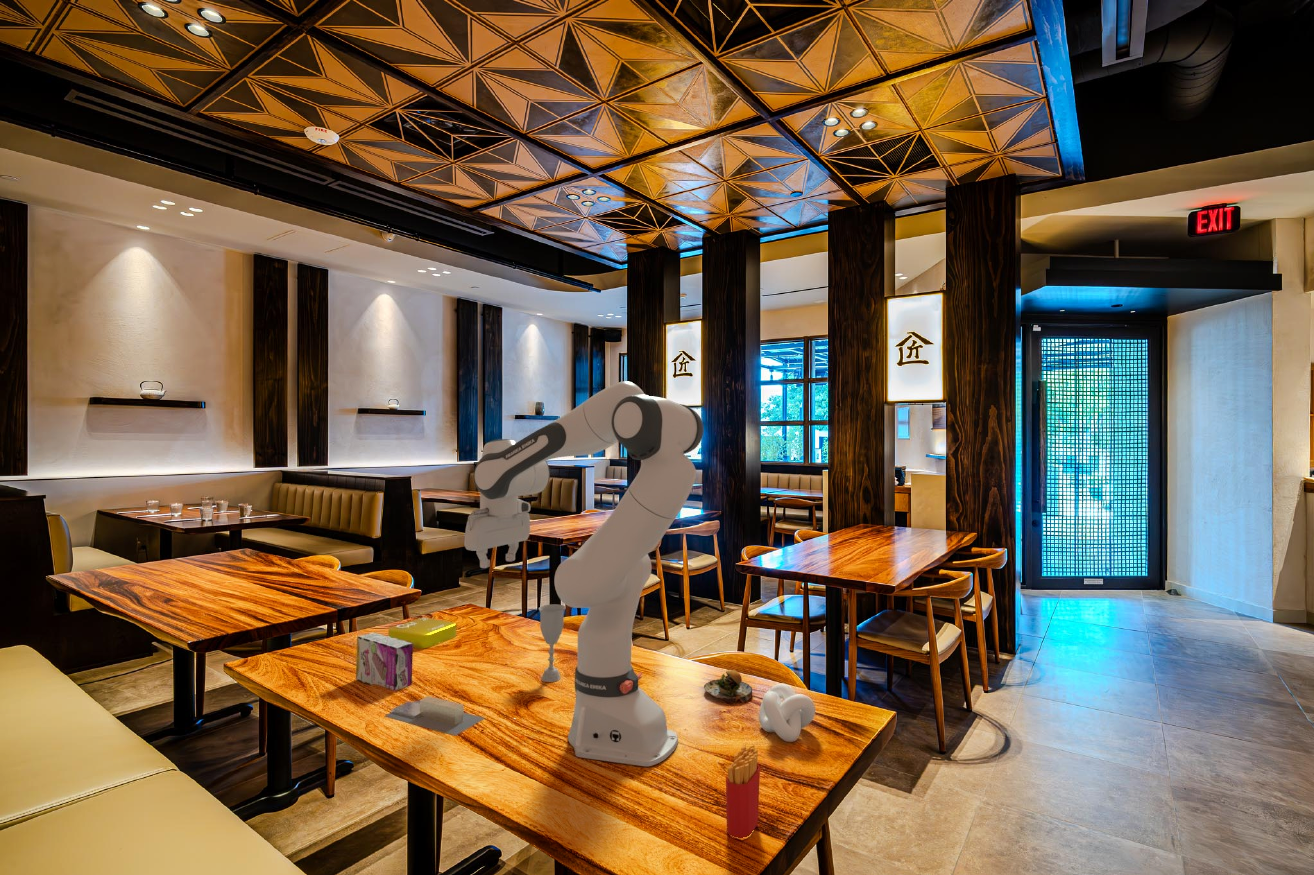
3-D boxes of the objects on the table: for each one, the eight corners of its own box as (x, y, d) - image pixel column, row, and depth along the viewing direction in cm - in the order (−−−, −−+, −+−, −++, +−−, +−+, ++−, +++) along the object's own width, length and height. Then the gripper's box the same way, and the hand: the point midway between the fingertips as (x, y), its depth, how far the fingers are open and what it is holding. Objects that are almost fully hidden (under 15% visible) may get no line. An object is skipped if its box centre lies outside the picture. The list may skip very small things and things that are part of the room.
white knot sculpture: (803, 753, 122) (804, 707, 122) (746, 738, 128) (746, 695, 128) (818, 730, 132) (819, 688, 132) (764, 718, 138) (765, 677, 138)
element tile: (422, 650, 180) (423, 634, 180) (385, 643, 186) (385, 627, 186) (459, 636, 194) (459, 621, 194) (422, 630, 200) (423, 615, 200)
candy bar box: (394, 695, 147) (354, 680, 156) (412, 688, 151) (373, 675, 160) (395, 647, 148) (355, 636, 157) (413, 642, 152) (374, 631, 161)
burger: (707, 683, 158) (707, 654, 158) (753, 688, 155) (754, 658, 156) (700, 702, 146) (701, 671, 146) (751, 707, 144) (751, 675, 144)
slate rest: (485, 722, 134) (485, 718, 134) (455, 740, 125) (455, 735, 125) (416, 705, 142) (416, 700, 142) (383, 720, 134) (384, 716, 134)
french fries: (740, 811, 102) (740, 738, 102) (763, 819, 100) (763, 744, 100) (719, 840, 95) (720, 761, 95) (744, 848, 93) (745, 767, 93)
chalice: (558, 684, 155) (559, 612, 155) (532, 682, 156) (534, 610, 157) (568, 674, 162) (569, 605, 162) (543, 672, 164) (545, 603, 164)
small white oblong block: (467, 718, 133) (467, 702, 133) (450, 728, 128) (450, 711, 129) (409, 703, 140) (409, 688, 140) (391, 712, 136) (391, 696, 136)
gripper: (480, 511, 139) (479, 573, 139) (534, 504, 157) (533, 558, 157) (458, 509, 141) (457, 570, 141) (514, 502, 160) (513, 556, 160)
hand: (498, 564), depth 149 cm, fingers open, 8 cm apart
